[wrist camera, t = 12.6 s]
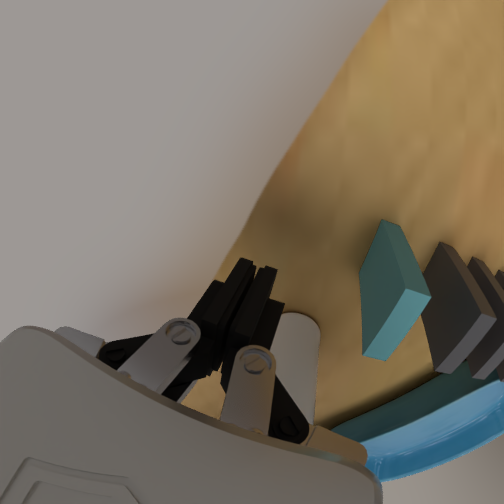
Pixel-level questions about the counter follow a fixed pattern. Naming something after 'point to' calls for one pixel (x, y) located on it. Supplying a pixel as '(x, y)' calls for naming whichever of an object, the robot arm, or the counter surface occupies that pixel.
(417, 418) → the casserole dish
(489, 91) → the counter surface
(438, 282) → the domino
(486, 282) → the domino
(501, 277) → the domino
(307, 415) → the drinking glass
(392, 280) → the domino teal
